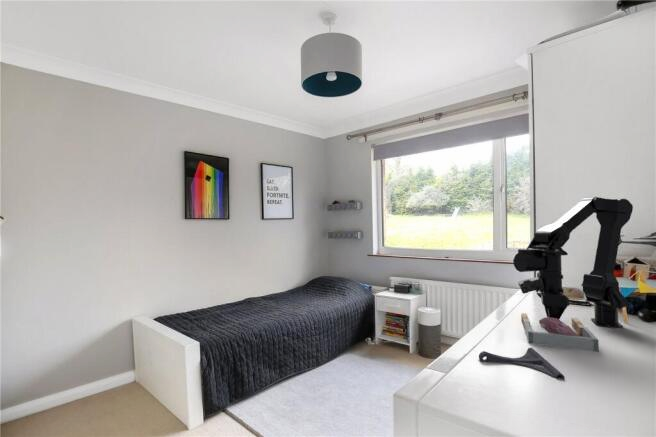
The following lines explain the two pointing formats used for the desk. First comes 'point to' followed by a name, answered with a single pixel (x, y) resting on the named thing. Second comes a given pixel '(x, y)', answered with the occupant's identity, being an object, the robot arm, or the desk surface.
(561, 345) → the grey u-shaped frame
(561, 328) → the video game controller
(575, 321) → the pair of wooden bars
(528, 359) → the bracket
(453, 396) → the desk surface
